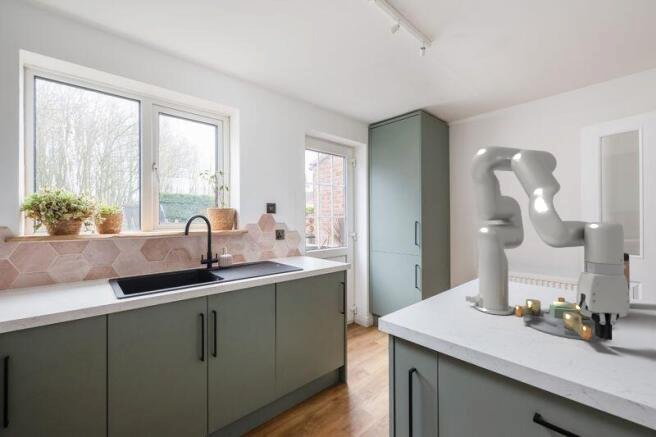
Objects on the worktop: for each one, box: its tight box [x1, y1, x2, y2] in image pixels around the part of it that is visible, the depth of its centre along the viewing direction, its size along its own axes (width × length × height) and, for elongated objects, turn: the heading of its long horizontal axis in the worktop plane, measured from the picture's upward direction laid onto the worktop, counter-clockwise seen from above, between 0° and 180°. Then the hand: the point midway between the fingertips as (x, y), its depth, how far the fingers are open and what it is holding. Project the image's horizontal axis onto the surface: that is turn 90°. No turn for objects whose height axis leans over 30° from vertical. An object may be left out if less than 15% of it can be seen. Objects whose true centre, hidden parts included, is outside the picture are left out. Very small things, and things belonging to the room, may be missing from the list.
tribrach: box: [522, 301, 602, 341], centre depth 89 cm, size 20×20×8 cm
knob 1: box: [515, 298, 542, 318], centre depth 93 cm, size 12×4×4 cm, turn 119°
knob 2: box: [557, 297, 591, 320], centre depth 94 cm, size 12×4×4 cm, turn 176°
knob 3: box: [563, 312, 593, 341], centre depth 79 cm, size 12×4×4 cm, turn 159°
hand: (603, 337), depth 75 cm, fingers closed
